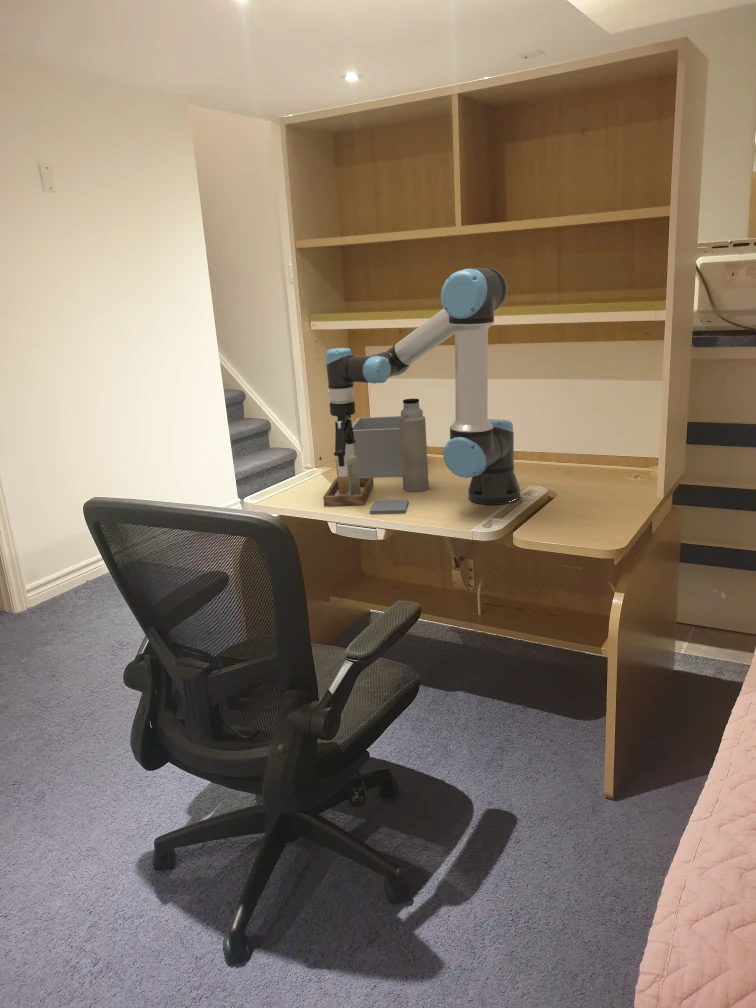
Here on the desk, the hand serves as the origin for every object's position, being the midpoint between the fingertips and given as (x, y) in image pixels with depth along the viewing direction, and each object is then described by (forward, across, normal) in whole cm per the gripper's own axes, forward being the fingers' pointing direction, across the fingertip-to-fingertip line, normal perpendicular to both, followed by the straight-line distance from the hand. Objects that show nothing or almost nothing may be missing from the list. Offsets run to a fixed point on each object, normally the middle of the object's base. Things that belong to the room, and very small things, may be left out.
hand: (346, 470), depth 237 cm
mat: (+8, +14, +14) cm, 22 cm away
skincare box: (+8, 0, 0) cm, 8 cm away
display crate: (+8, -32, +8) cm, 34 cm away
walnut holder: (+8, 0, 0) cm, 8 cm away
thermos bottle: (+8, -6, +20) cm, 23 cm away
